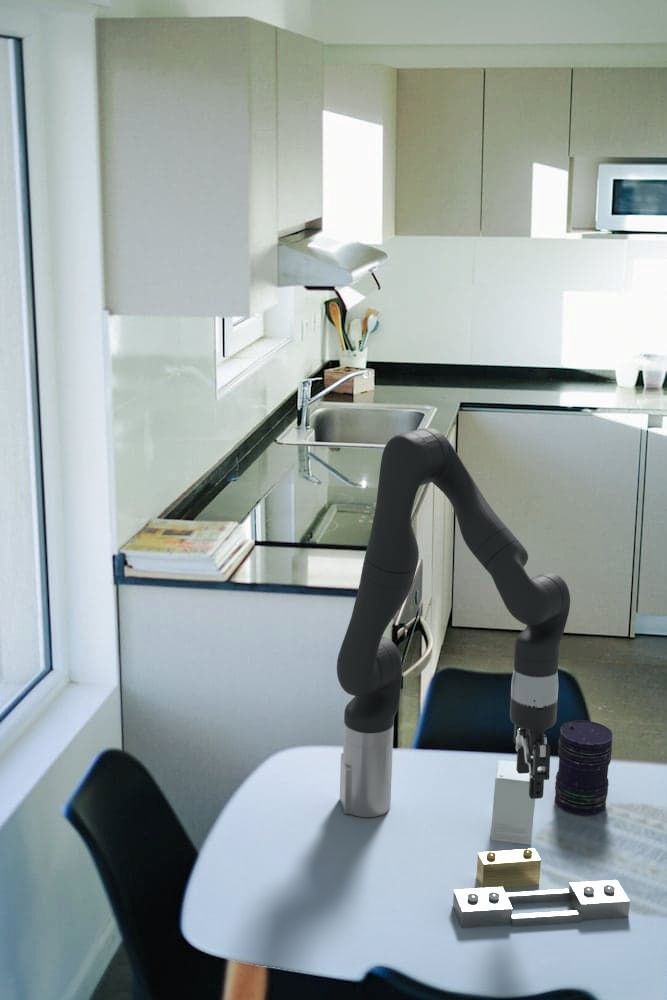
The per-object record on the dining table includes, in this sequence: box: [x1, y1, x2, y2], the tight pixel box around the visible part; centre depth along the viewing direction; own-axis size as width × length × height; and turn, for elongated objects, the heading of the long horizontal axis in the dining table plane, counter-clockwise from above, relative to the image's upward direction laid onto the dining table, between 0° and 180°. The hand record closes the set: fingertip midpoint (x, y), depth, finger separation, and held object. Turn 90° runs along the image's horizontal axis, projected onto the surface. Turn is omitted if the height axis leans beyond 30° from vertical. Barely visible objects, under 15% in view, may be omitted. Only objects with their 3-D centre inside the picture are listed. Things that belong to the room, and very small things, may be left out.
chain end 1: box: [452, 887, 548, 929], centre depth 203 cm, size 14×7×4 cm, turn 98°
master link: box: [475, 848, 542, 889], centre depth 212 cm, size 10×4×6 cm, turn 100°
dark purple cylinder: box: [554, 720, 614, 817], centre depth 236 cm, size 10×10×15 cm
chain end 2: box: [534, 879, 631, 925], centre depth 205 cm, size 14×7×4 cm, turn 98°
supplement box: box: [490, 759, 536, 846], centre depth 226 cm, size 7×7×13 cm
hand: (529, 784), depth 206 cm, fingers open, 8 cm apart
